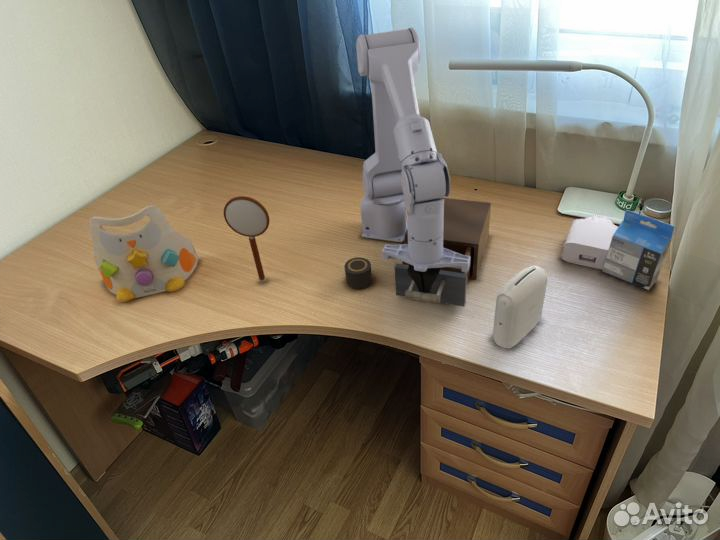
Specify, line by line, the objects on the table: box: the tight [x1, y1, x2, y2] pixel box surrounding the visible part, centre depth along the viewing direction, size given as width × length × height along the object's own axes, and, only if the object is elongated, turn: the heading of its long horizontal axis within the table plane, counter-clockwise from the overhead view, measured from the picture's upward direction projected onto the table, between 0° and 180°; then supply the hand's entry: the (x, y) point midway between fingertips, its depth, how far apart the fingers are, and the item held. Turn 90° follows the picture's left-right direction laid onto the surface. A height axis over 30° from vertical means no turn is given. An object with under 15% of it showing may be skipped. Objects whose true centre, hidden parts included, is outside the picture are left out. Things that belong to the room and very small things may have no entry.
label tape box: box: [602, 209, 676, 291], centre depth 97 cm, size 9×4×12 cm, turn 45°
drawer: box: [394, 243, 474, 308], centre depth 100 cm, size 19×13×7 cm
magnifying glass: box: [223, 195, 270, 283], centre depth 103 cm, size 9×2×20 cm, turn 80°
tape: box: [343, 256, 373, 291], centre depth 105 cm, size 5×5×4 cm
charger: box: [561, 213, 619, 271], centre depth 108 cm, size 5×9×15 cm
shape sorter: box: [88, 204, 199, 303], centre depth 106 cm, size 20×10×18 cm, turn 105°
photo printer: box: [492, 264, 549, 349], centre depth 89 cm, size 10×4×12 cm, turn 133°
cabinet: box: [404, 197, 492, 281], centre depth 109 cm, size 15×14×9 cm
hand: (425, 294), depth 95 cm, fingers closed
